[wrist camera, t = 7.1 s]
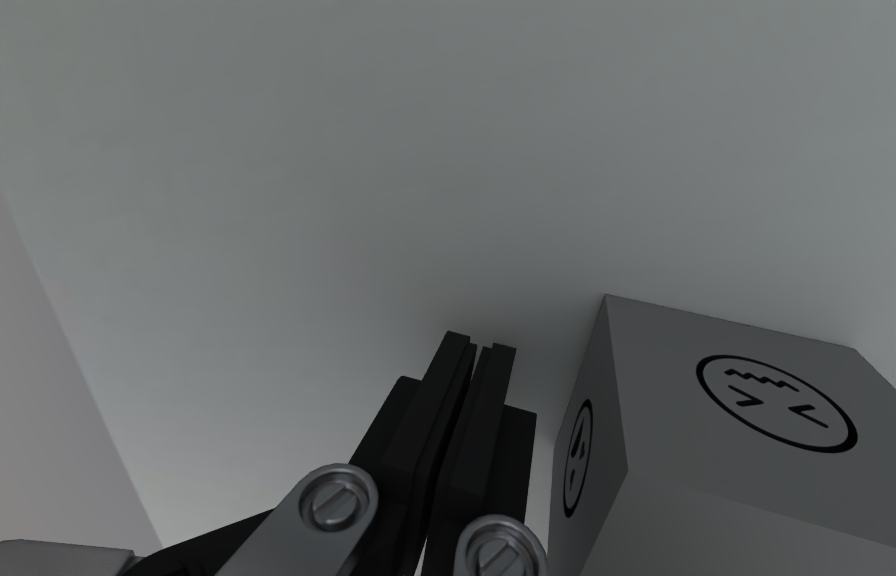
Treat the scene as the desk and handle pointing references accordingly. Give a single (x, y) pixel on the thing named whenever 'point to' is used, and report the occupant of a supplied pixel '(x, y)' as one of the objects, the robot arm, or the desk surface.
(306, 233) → the desk surface
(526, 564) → the robot arm
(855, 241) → the desk surface
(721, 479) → the dice cube
